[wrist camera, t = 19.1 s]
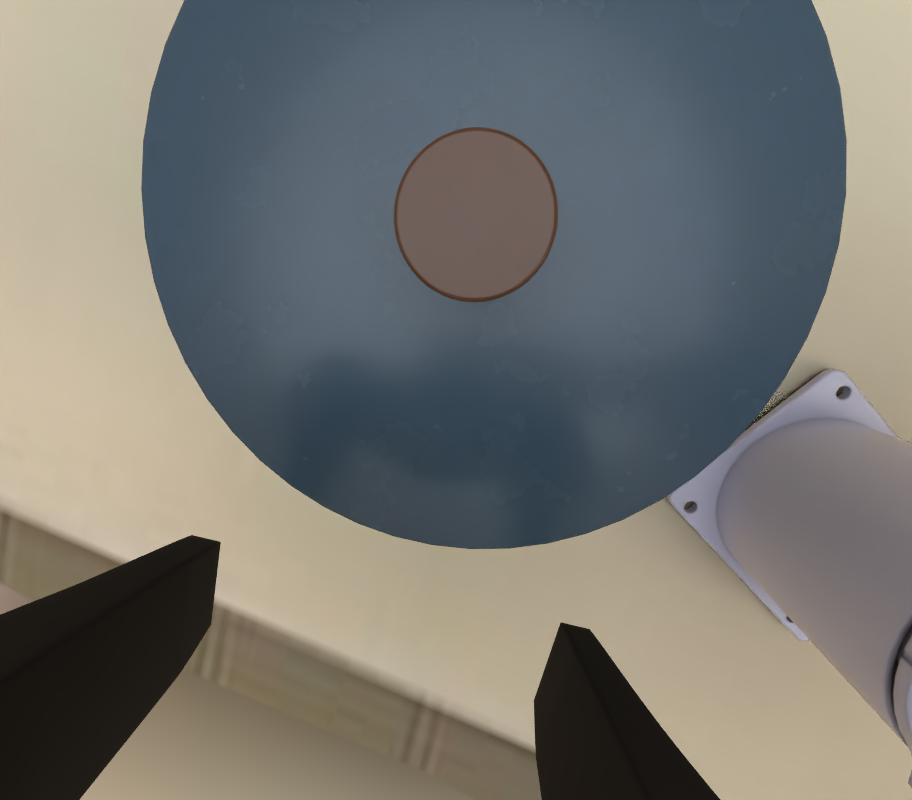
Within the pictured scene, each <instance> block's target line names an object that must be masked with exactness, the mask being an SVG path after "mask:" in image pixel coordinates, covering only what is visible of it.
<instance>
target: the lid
mask: <svg viewBox="0 0 912 800" xmlns="http://www.w3.org/2000/svg"><path fill="white" fill-rule="evenodd" d="M141 190H142V202H143V215H144V228H145V238H146V243H147V248H148V253H149V258H150V263H151V268H152V273H153V278H154V283H155V286H156V289H157V292H158V295H159V298H160V301H161V304H162V307H163V310H164V314H165V317H166V320H167V323H168V325H169V327H170V330H171V332H172V334H173V336H174V338H175V341H176V343H177V345H178V347H179V349H180V352H181V354H182V356H183V358H184V360H185V363H186V364H187V366H188V368H189V369H190V371H191V373H192V374H193V376H194V378H195V379H196V381H197V383H198V384H199V386H200V388H201V389H202V391H203V393H204V394H205V396H206V398H207V399H208V401H209V402H210V403H211V405H212V406H213V407H214V408H215V410H216V411H217V412H218V414H219V415H220V416H221V418H222V419H223V420H224V421H225V423H226V424H227V425H228V427H229V428H230V429H231V430H232V432H233V433H234V434H235V435H236V436H237V437H238V438H239V439H240V440H241V441H242V442H243V443H244V444H245V445H246V446H247V447H248V448H249V449H250V450H251V451H252V452H253V453H254V454H255V456H256V457H257V458H258V459H259V460H260V461H262V462H263V463H264V464H265V465H266V466H268V467H269V468H270V469H271V470H273V471H274V472H275V473H276V474H277V475H279V476H280V477H281V478H282V479H284V480H285V481H286V482H287V483H288V484H290V485H291V486H292V487H294V488H295V489H297V490H299V491H300V492H302V493H303V494H305V495H306V496H308V497H309V498H311V499H313V500H314V501H316V502H317V503H319V504H320V505H322V506H324V507H325V508H327V509H330V510H332V511H334V512H336V513H338V514H340V515H342V516H344V517H346V518H348V519H350V520H352V521H354V522H356V523H358V524H361V525H364V526H367V527H369V528H372V529H375V530H378V531H381V532H384V533H386V534H389V535H392V536H395V537H399V538H404V539H408V540H413V541H417V542H422V543H426V544H431V545H438V546H448V547H457V548H467V549H500V548H516V547H523V546H531V545H539V544H547V543H551V542H555V541H559V540H563V539H567V538H571V537H575V536H579V535H583V534H586V533H589V532H592V531H594V530H597V529H600V528H602V527H605V526H608V525H610V524H613V523H615V522H618V521H621V520H623V519H625V518H627V517H629V516H631V515H633V514H635V513H637V512H639V511H641V510H643V509H645V508H647V507H648V506H650V505H652V504H654V503H656V502H658V501H660V500H661V499H663V498H664V497H666V496H667V495H669V494H670V493H672V492H673V491H675V490H676V489H678V488H679V487H681V486H682V485H684V484H685V483H687V482H688V481H690V480H691V479H692V478H694V477H695V476H696V475H698V474H699V473H700V472H701V471H702V470H703V469H705V468H706V467H707V466H708V465H709V464H710V463H712V462H713V461H714V460H715V459H716V458H717V457H718V456H720V455H721V454H722V453H723V452H724V451H725V450H727V449H728V448H729V447H730V445H731V444H732V443H733V442H734V441H735V440H736V439H737V438H738V437H739V436H740V435H741V433H742V432H743V431H744V430H745V429H746V428H747V427H748V426H749V425H750V424H751V423H752V421H753V420H754V419H755V418H756V417H757V416H758V415H759V413H760V412H761V411H762V409H763V408H764V406H765V405H766V404H767V402H768V401H769V399H770V398H771V397H772V395H773V394H774V393H775V391H776V390H777V388H778V387H779V386H780V384H781V383H782V381H783V380H784V379H785V377H786V375H787V373H788V371H789V370H790V368H791V366H792V364H793V362H794V361H795V359H796V357H797V355H798V353H799V352H800V350H801V348H802V346H803V344H804V343H805V341H806V339H807V337H808V335H809V332H810V330H811V327H812V325H813V322H814V320H815V317H816V315H817V313H818V310H819V308H820V305H821V303H822V300H823V298H824V295H825V293H826V290H827V286H828V282H829V278H830V275H831V271H832V267H833V264H834V260H835V256H836V253H837V249H838V245H839V239H840V232H841V225H842V218H843V210H844V203H845V196H846V133H845V124H844V116H843V108H842V100H841V92H840V86H839V82H838V78H837V74H836V71H835V67H834V63H833V59H832V55H831V52H830V48H829V44H828V40H827V36H826V34H825V31H824V29H823V27H822V24H821V22H820V19H819V17H818V15H817V12H816V10H815V8H814V5H813V3H812V0H184V2H183V5H182V7H181V9H180V12H179V14H178V16H177V18H176V21H175V23H174V25H173V28H172V30H171V32H170V34H169V37H168V39H167V41H166V44H165V47H164V50H163V54H162V57H161V61H160V64H159V68H158V71H157V74H156V78H155V81H154V85H153V88H152V92H151V97H150V103H149V110H148V116H147V122H146V128H145V134H144V141H143V164H142V189H141Z"/></svg>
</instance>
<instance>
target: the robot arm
mask: <svg viewBox="0 0 912 800" xmlns="http://www.w3.org/2000/svg"><path fill="white" fill-rule="evenodd" d="M840 387H843V392H842V393H841V394H840V395H839V396H836V391H837V390H838V389H839V388H840ZM667 498H668V500H669V502H670V503H671V505H672V506H673V507H674V508H675V509H676V510H677V511H678V512H679V513H680V514H681V515H682V516H683V518H684V519H685V520H686V521H687V522H688V523H689V524H690V525H691V526H692V527H693V528H694V529H695V530H696V531H697V533H698V534H699V535H700V536H701V537H702V538H703V539H704V540H705V541H706V542H707V543H708V544H709V545H710V546H711V548H712V549H713V550H714V551H715V552H716V553H717V554H718V555H719V556H720V557H721V558H722V559H723V560H724V561H725V562H726V564H727V565H728V566H729V567H730V568H731V569H732V570H733V571H734V572H735V573H736V574H737V575H738V576H739V577H740V579H741V580H742V581H743V582H744V583H745V584H746V585H747V586H748V587H749V588H750V589H751V590H752V591H753V592H754V593H755V595H756V596H757V597H758V598H759V599H760V600H761V601H762V602H763V603H764V604H765V605H766V606H767V607H768V608H769V610H770V611H771V612H772V613H773V614H774V615H775V616H776V617H777V618H778V619H779V620H780V621H781V622H782V623H783V624H784V626H785V627H786V628H787V629H788V630H789V631H790V632H791V633H792V634H793V635H794V636H795V637H796V638H797V639H798V640H800V641H811V642H812V643H813V644H814V645H815V646H816V647H817V648H818V649H819V650H820V652H821V653H822V654H823V655H824V656H825V657H826V658H827V659H828V660H829V661H830V662H831V664H832V665H833V666H834V667H835V668H836V669H837V670H838V671H839V672H840V673H841V674H842V676H843V677H844V678H845V679H846V680H847V681H848V682H849V683H850V684H851V685H852V686H853V688H854V689H855V690H856V691H857V692H858V693H859V694H860V695H861V696H862V697H863V698H864V699H865V701H866V702H867V703H868V704H869V705H870V706H871V707H872V708H873V709H874V710H875V711H876V713H877V714H878V715H879V716H880V717H881V718H882V719H883V720H884V721H885V722H886V723H887V725H888V726H889V727H890V728H891V729H892V730H893V731H894V732H895V733H896V734H897V735H898V737H899V738H900V739H901V740H902V741H903V742H904V743H905V744H906V745H907V746H908V747H909V749H910V751H911V754H912V443H909V442H907V441H904V440H901V439H899V438H898V437H897V435H896V434H895V433H894V432H893V430H892V429H891V428H890V427H889V425H888V424H887V423H886V422H885V421H884V419H883V418H882V417H881V416H880V414H879V413H878V412H877V411H876V410H875V408H874V407H873V406H872V405H871V403H870V402H869V401H868V400H867V399H866V397H865V396H864V395H863V394H862V392H861V391H860V390H859V389H858V387H857V386H856V385H855V384H854V383H853V381H852V380H851V379H850V378H849V376H848V375H847V374H846V373H845V372H843V371H840V370H836V369H826V370H824V371H822V372H821V373H819V374H818V375H817V376H816V377H814V378H813V379H812V380H810V381H809V382H808V383H806V384H805V385H804V386H803V387H801V388H800V389H799V390H797V391H796V392H795V393H793V394H792V395H791V396H790V397H788V398H787V399H786V400H784V401H783V402H782V403H780V404H779V405H778V406H777V407H775V408H774V409H773V410H771V411H770V412H769V413H767V414H766V415H765V416H764V417H762V418H761V419H760V420H758V421H757V422H756V423H754V424H753V425H752V426H751V427H749V428H748V429H747V430H745V431H744V432H743V433H741V435H740V436H739V437H738V438H737V439H736V440H735V441H734V442H733V443H732V444H731V445H730V447H729V448H728V449H727V450H725V451H724V452H723V453H722V454H721V455H720V456H718V457H717V458H716V459H715V460H714V461H713V462H712V463H710V464H709V465H708V466H707V467H706V468H705V469H703V470H702V471H701V472H700V473H699V474H698V475H696V476H695V477H694V478H692V479H691V480H690V481H688V482H687V483H685V484H684V485H682V486H681V487H679V488H678V489H676V490H675V491H673V492H672V493H670V494H669V495H667ZM689 501H693V505H692V506H691V507H690V508H688V509H687V508H684V505H685V504H686V503H687V502H689ZM219 551H220V542H218V541H214V540H210V539H206V538H201V537H197V536H193V535H191V536H188V537H186V538H183V539H181V540H178V541H176V542H173V543H171V544H169V545H166V546H164V547H162V548H159V549H157V550H155V551H153V552H150V553H148V554H146V555H144V556H141V557H139V558H137V559H135V560H132V561H130V562H128V563H125V564H123V565H121V566H119V567H116V568H114V569H112V570H109V571H107V572H105V573H102V574H100V575H98V576H95V577H93V578H91V579H88V580H86V581H84V582H81V583H79V584H77V585H74V586H72V587H69V588H67V589H64V590H62V591H59V592H57V593H54V594H52V595H49V596H46V597H44V598H41V599H39V600H36V601H34V602H31V603H29V604H26V605H24V606H21V607H19V608H16V609H14V610H11V611H9V612H6V613H4V614H1V615H0V800H80V798H81V797H82V796H83V794H84V793H85V792H86V791H87V789H88V788H89V787H90V786H91V784H92V783H93V782H94V781H95V779H96V778H97V777H98V776H99V774H100V773H101V772H102V771H103V769H104V768H105V767H106V766H107V764H108V763H109V762H110V761H111V759H112V758H113V757H114V756H115V754H116V753H117V752H118V751H119V750H120V748H121V747H122V746H123V745H124V743H125V742H126V741H127V739H128V738H129V737H130V736H131V735H132V733H133V732H134V731H135V730H136V728H137V727H138V726H139V725H140V723H141V722H142V721H143V720H144V718H145V717H146V716H147V715H148V713H149V712H150V711H151V709H152V708H153V707H154V706H155V704H156V703H157V702H158V701H159V699H160V698H161V697H162V696H163V694H164V693H165V692H166V691H167V689H168V688H169V687H170V685H171V684H172V683H173V681H174V680H175V679H176V678H177V676H178V675H179V674H180V672H181V671H182V669H183V668H184V666H185V665H186V663H187V662H188V660H189V659H190V657H191V656H192V654H193V652H194V651H195V649H196V648H197V646H198V644H199V643H200V641H201V640H202V638H203V636H204V635H205V633H206V632H207V630H208V628H209V627H210V625H211V620H212V611H213V602H214V594H215V585H216V577H217V568H218V560H219ZM534 718H535V745H536V760H537V768H538V775H539V782H540V790H541V797H542V800H720V799H719V797H718V796H717V795H716V794H715V793H714V792H713V790H712V789H711V788H710V787H709V786H708V785H707V783H706V782H705V781H704V780H703V778H702V777H701V776H700V775H699V774H698V772H697V771H696V770H695V769H694V767H693V766H692V765H691V764H690V763H689V761H688V760H687V759H686V758H685V756H684V755H683V754H682V753H681V752H680V750H679V749H678V748H677V746H676V745H675V744H674V743H673V741H672V740H671V739H670V738H669V736H668V735H667V734H666V732H665V731H664V730H663V728H662V727H661V726H660V725H659V723H658V722H657V721H656V719H655V718H654V717H653V715H652V714H651V713H650V711H649V710H648V709H647V707H646V706H645V705H644V703H643V702H642V701H641V699H640V698H639V696H638V695H637V694H636V692H635V691H634V690H633V688H632V687H631V686H630V684H629V683H628V681H627V680H626V679H625V677H624V676H623V674H622V673H621V672H620V670H619V669H618V667H617V666H616V665H615V663H614V662H613V660H612V659H611V658H610V656H609V655H608V653H607V652H606V651H605V649H604V648H603V647H602V645H601V644H600V642H599V641H598V640H597V638H596V637H595V636H594V634H593V633H592V632H591V631H590V629H586V628H582V627H578V626H573V625H569V624H565V623H560V626H559V629H558V632H557V635H556V638H555V641H554V644H553V647H552V650H551V652H550V655H549V658H548V661H547V664H546V667H545V670H544V673H543V676H542V679H541V682H540V684H539V687H538V690H537V693H536V696H535V699H534ZM908 783H909V785H910V786H911V787H912V771H911V774H910V777H909V782H908Z"/></svg>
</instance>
